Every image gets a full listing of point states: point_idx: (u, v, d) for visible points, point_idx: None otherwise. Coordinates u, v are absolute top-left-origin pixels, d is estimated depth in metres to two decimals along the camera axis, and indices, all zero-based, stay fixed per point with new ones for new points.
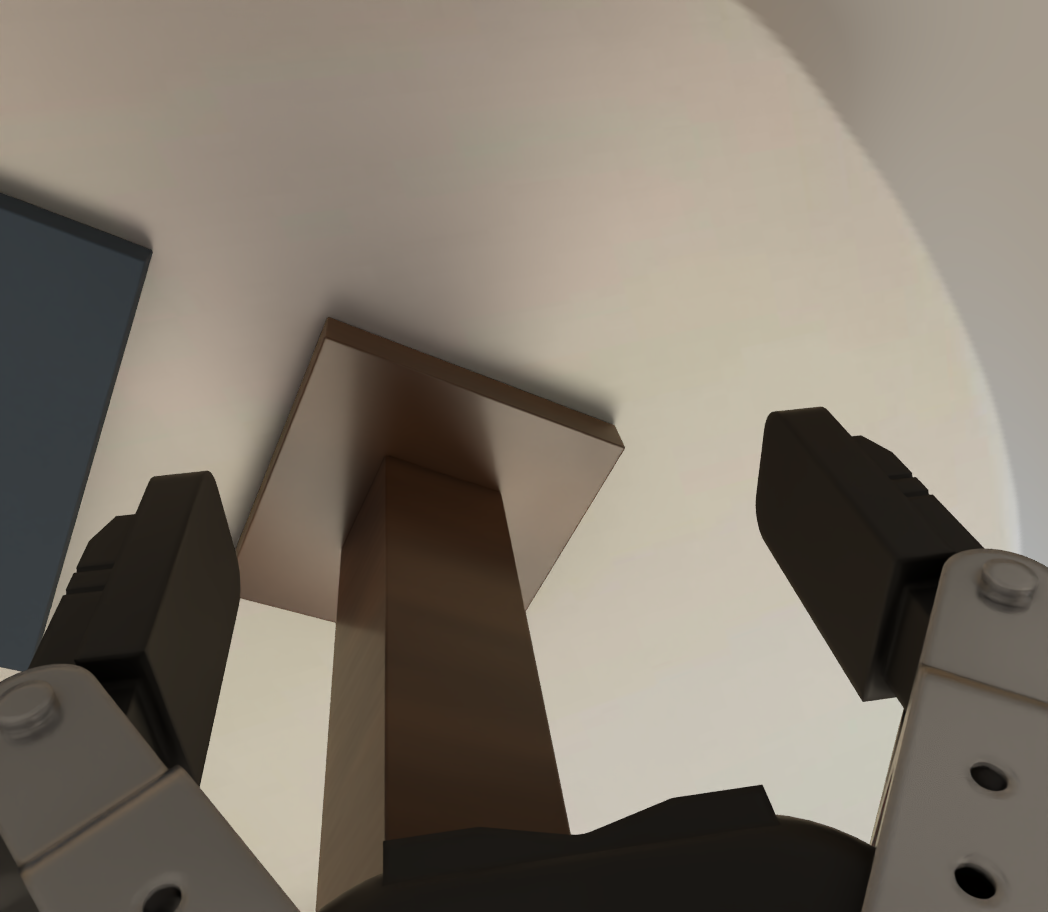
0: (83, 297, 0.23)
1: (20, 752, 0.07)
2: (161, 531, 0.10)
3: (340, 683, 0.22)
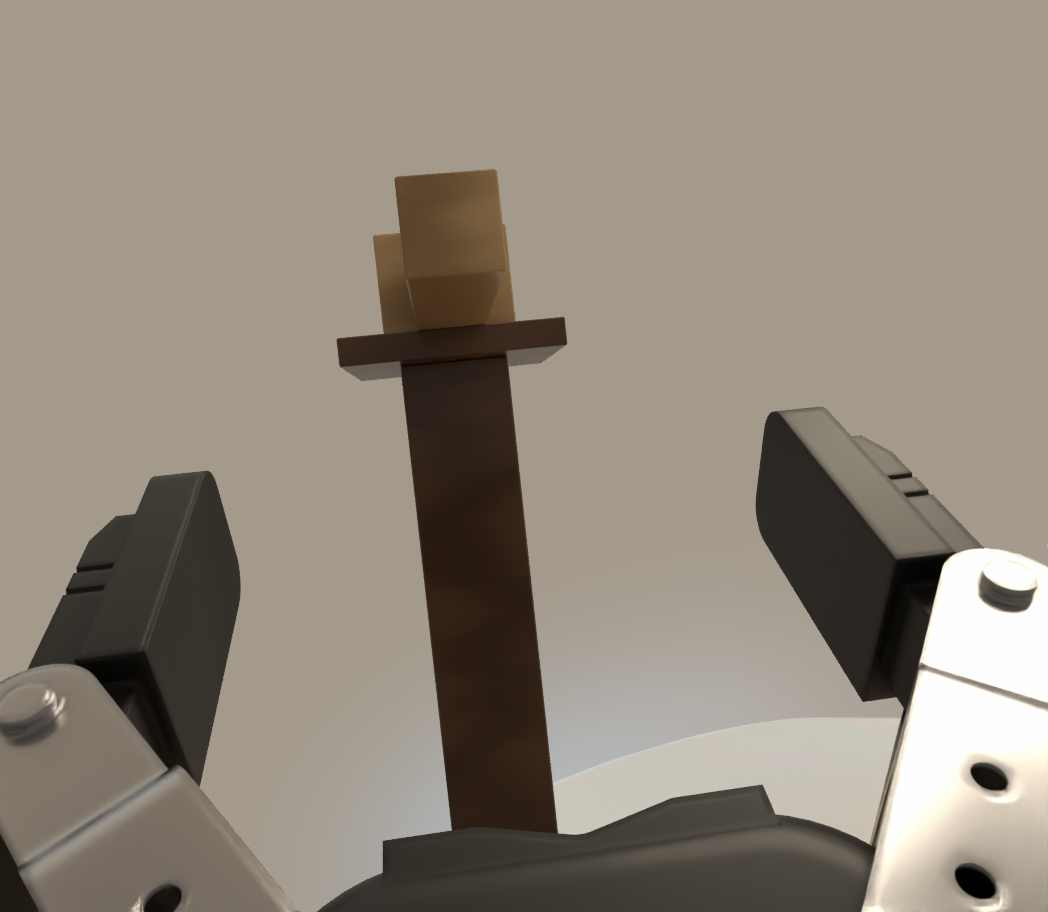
0: None
1: (20, 751, 0.07)
2: (161, 531, 0.10)
3: None
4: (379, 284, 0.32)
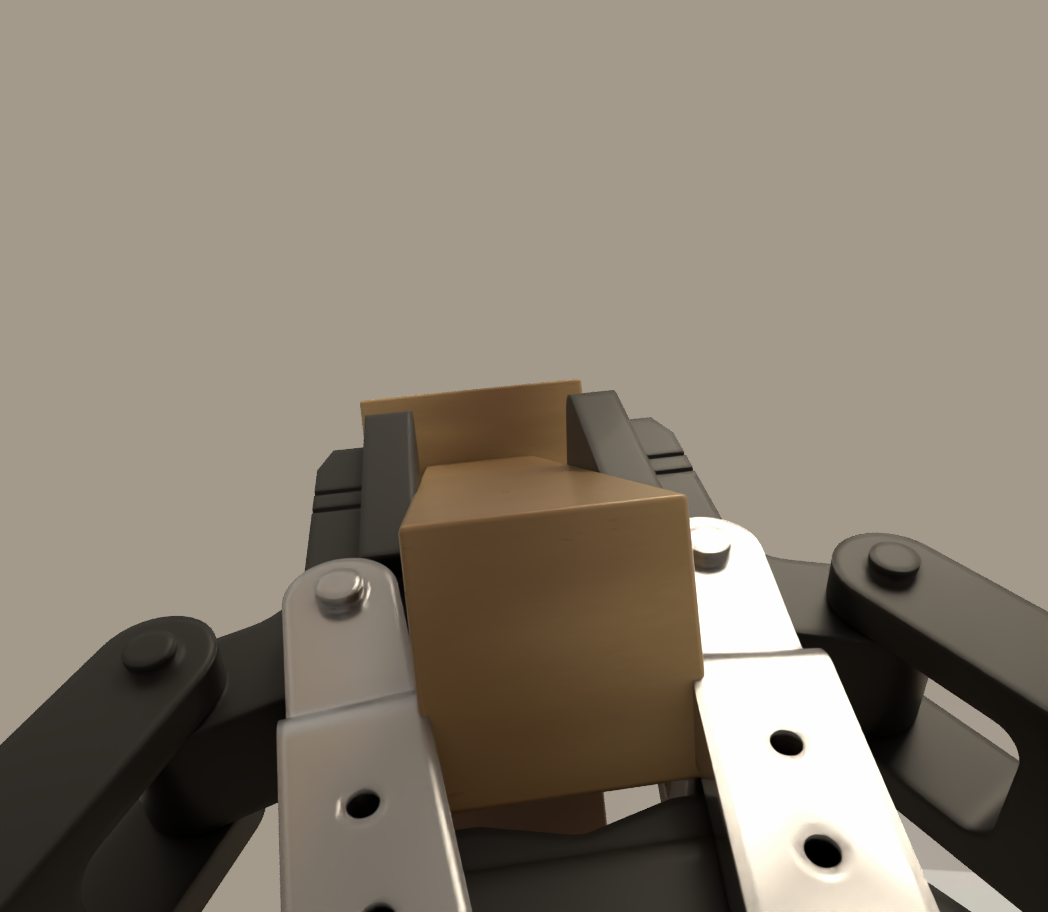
0: None
1: (348, 625, 0.09)
2: (393, 458, 0.11)
3: None
4: None
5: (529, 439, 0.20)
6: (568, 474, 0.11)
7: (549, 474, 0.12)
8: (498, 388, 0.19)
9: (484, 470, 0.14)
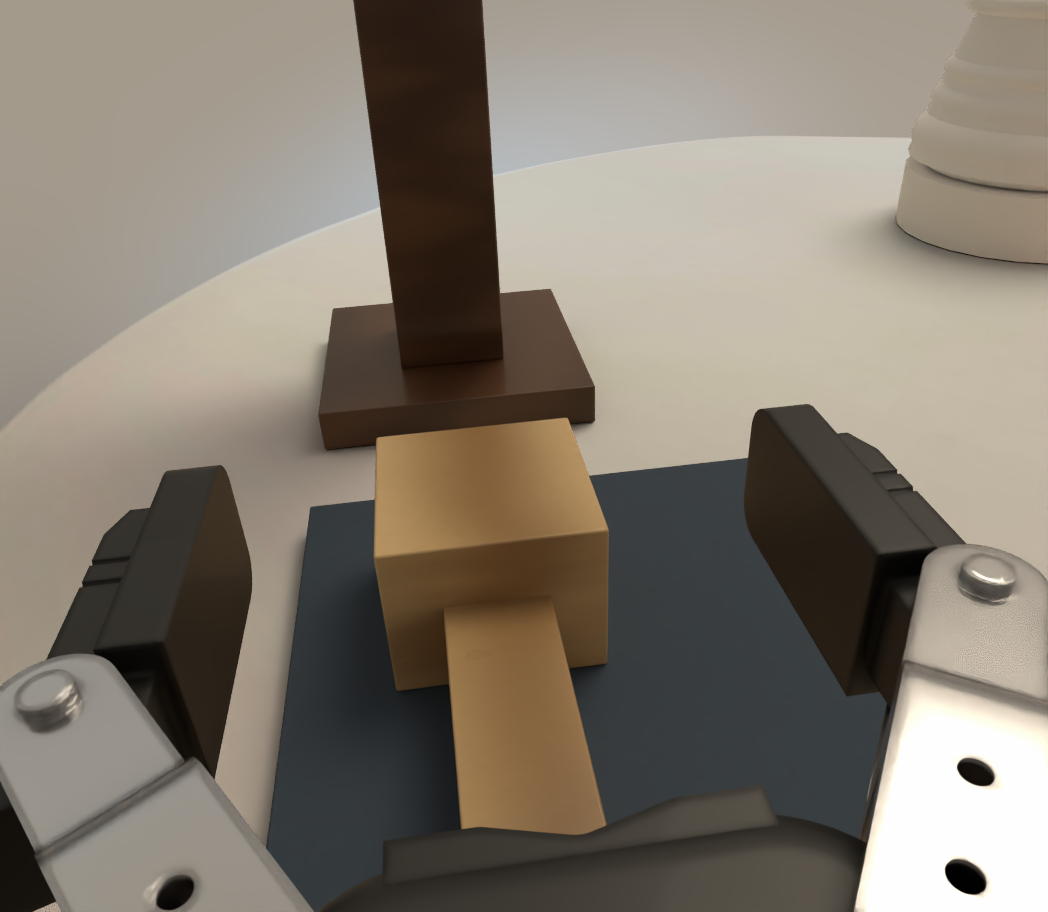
0: (361, 523, 0.26)
1: (42, 739, 0.08)
2: (176, 524, 0.10)
3: (469, 189, 0.30)
4: (386, 623, 0.19)
5: (550, 583, 0.19)
6: None
7: None
8: (521, 541, 0.18)
9: (521, 793, 0.15)
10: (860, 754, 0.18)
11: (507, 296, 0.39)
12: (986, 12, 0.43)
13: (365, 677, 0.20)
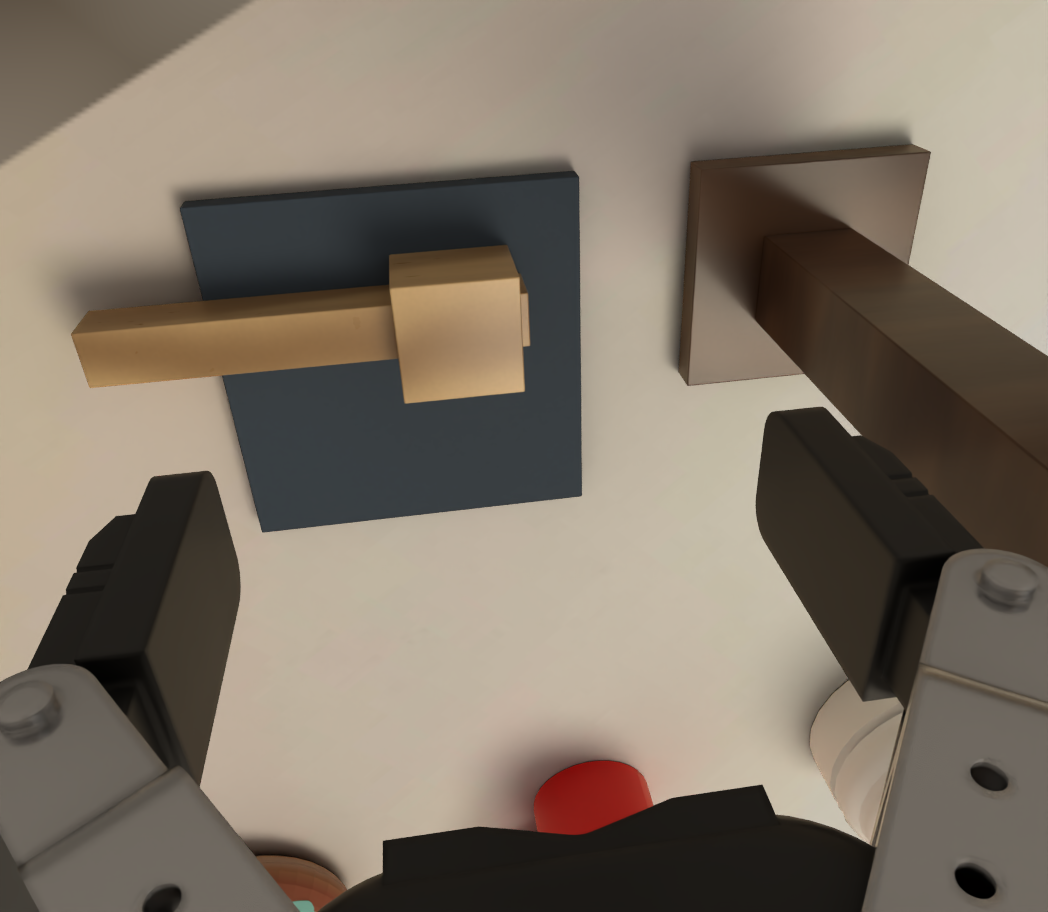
0: (551, 217, 0.36)
1: (20, 752, 0.07)
2: (161, 531, 0.10)
3: (818, 367, 0.33)
4: (389, 272, 0.34)
5: None
6: (189, 369, 0.35)
7: (199, 364, 0.35)
8: None
9: (273, 340, 0.35)
10: (341, 457, 0.41)
11: None
12: None
13: (401, 235, 0.36)
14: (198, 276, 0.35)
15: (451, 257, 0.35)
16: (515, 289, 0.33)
